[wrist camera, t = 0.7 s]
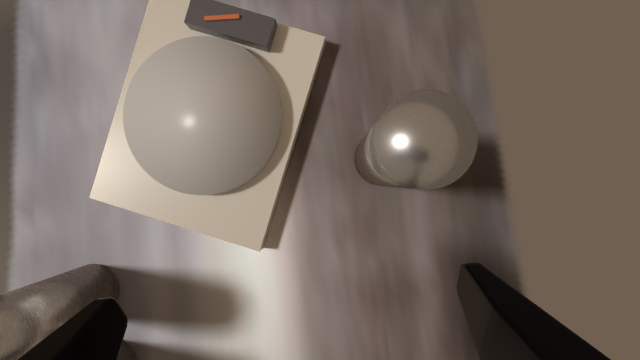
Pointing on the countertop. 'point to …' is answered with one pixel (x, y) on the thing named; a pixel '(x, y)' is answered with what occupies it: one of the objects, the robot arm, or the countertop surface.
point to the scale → (208, 118)
